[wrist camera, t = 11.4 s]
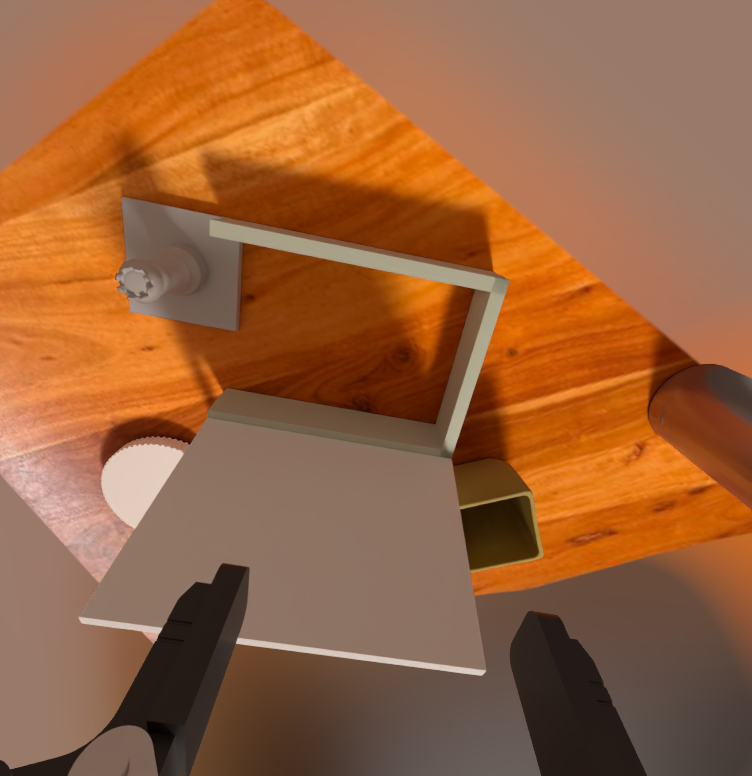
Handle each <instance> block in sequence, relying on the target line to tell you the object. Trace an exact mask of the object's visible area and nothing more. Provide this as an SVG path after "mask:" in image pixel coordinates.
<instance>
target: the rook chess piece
mask: <svg viewBox="0 0 752 776" xmlns="http://www.w3.org/2000/svg"><path fill="white" fill-rule="evenodd" d="M206 279H207V270H206V265H205V263H204V261H203V259H202V257H201V256H200V255H199V254H198V253H197V252H196V251H195V250H194V249H193V248H190V247H188V246H186V245H184V244H171V245H168V246H166V247H163V248H161V249H159V250H158V252H157V253H156V254H155V255H154V257H153V259H152V260H141V259H130V260H128V261H126V262H124V263H123V264H122V266H121V267H120V268H119V273H116V277H115V280H117V281H119V283H120V286H118V287H117V288H118V290H119V291H120V293H125V294H126V295H127V296H128V297H127V299H129V300H132V301H136V302H139V303H141V304H150V303H153V302H155V301H157V300H158V299H159V298H160V296H162V295H165V294H166V292H168V293H171V294H173V295H176V296H188V295H192V294H194V293H197V292H199V291H200V290H201V289H202V288H203V287H204V286H205V283H206Z"/></svg>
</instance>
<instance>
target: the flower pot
mask: <svg viewBox="0 0 752 776" xmlns="http://www.w3.org/2000/svg"><path fill="white" fill-rule="evenodd" d="M453 470H454V476H455V483H456V489H457V495H458V501H459V507H460V513H461V519H462V525H463V531H464V537H465V543H466V550H467V556H468V562H469V568H470V573H472V572H477V571H482V570H486V569H491V568H496V567H501V566H506V565H511V564H517V563H522V562H527V561H532V560H536V559H539V558H541V557H543V549H542V544H541V540H540V535H539V530H538V525H537V518H536V511H535V505H534V497H533V494H532V491H531V490H530V489H529V488H528V486H527V485H526V484H525V482H524V481H523V480H522V479H521V477H520V476H519V475H518V473H517V472H516V471H515V470H514V468H513V467H512V466H511V465H509V464H508V463H506V462H504V461H502V460H499V459H493V458H487V459H483V460H478V461H474V462H470V463H466V464H461V465H457V466H453Z"/></svg>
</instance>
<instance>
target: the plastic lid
mask: <svg viewBox="0 0 752 776" xmlns="http://www.w3.org/2000/svg"><path fill="white" fill-rule="evenodd" d="M188 447H189V444H188V443H187V442H185V443H184V442H183V441H181V440H180V441H178V440H177V439H171V438H170V437H169V438H166V437H162V438H160V436H157V437H154V436H152V437H151V438H149V437H146V438H141V439H140V440H139V439H136V440H135V441H134V440H133V441H131V442H130V443H127V444H126V445H124V446H123V447H122V448H120V449H119V450H118V451H117V452H116V453H115V454H113V455H112V457H110V458H109V459H108V461H107V462H106V464H105V465H104V467H105V468H104V469H103V470H102V471H103V472H102V474H101V475H102V477H101V480H102V481H101V484H102V486H101V488H103V490H102V492H104V494H103V495H104V497H106V499H105V500H106V501H108V503H107V504H108V505H110V506H111V507H110V508H111V509H113V510H114V511H113V512H114V513H116V514H117V516H118V517H120V519H121V520H124V521H125V523H127V524H129V526H130V527H131V526H132V527H133V529H135V528H136V527H137V525H138V524H139V522H140V521H141V519H142V518H143V516H144V514H145V513H146V511H147V510H148V508H149V507H150V505H151V504H152V502H153V501H154V499H155V498H156V496H157V494H158V493H159V491H160V490H161V488H162V487H163V485H164V484H165V482H166V481H167V479H168V477H169V476H170V474H171V473H172V471H173V470H174V468H175V467H176V465H177V464H178V462H179V461H180V459H181V457H182V456H183V454H184V453H185V451H186V450H187V448H188Z"/></svg>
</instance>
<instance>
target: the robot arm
mask: <svg viewBox="0 0 752 776" xmlns="http://www.w3.org/2000/svg"><path fill="white" fill-rule="evenodd" d="M649 421H650V424H651V427H652V428H653V430H654V431H655V432H656V433H657V434H658V435H659V436H661V437H662V438H663V439H664V440H665V441H667V442H668V443H669V444H670V445H672V446H673V447H674V448H675V449H677V450H678V451H679V452H680V453H681V454H683V455H684V456H685V457H686V458H688V459H689V460H690V461H691V462H693V463H694V464H695V465H696V466H698V467H699V468H700V469H701V470H703V471H704V472H705V473H706V474H707V475H709V476H710V477H711V478H712V479H714V480H715V481H716V482H717V483H719V484H720V485H721V486H722V487H724V488H725V489H726V490H727V491H729V492H730V493H731V494H732V495H734V496H735V497H736V498H737V499H739V500H740V501H741V502H742V503H744V504H745V505H746V506H747V507H749V508H750V509H751V510H752V379H751V378H749V377H747V376H744V375H742V374H740V373H738V372H735V371H733V370H731V369H729V368H726V367H724V366H721V365H716V364H702V365H697V366H693V367H690V368H687V369H685V370H683V371H681V372H679V373H677V374H675V375H674V376H672V377H671V378H670V379H669V380H667V381H666V382H665V383H664V384H663V385H662V386H661V387H660V388H659V390H658V391H657V393H656V394H655V396H654V397H653V399H652V402H651V404H650V408H649ZM249 573H250V568H249V567H246V566H240V565H233V564H226V563H222V564H221V565H220V567H219V569H218V571H217V573H216V575H215V577H214V579H213V581H212V583H211V584H208V583H202V582H195V583H194V584H193V585H192V586H191V587H190V588H189V589H188V590H187V591H186V592H185V593H184V594H183V595H182V596H181V597H179V599H178V600H177V602H176V604H175V606H174V608H173V610H172V612H171V613H170V615H169V617H168V619H167V622H166V623H165V624H164V626H163V628H162V630H161V632H160V634H159V636H158V639H157V641H155V643H154V645H153V647H152V648H151V651H150V652H149V654H148V656H147V658H146V660H145V661H144V663H143V665H142V667H141V669H140V671H139V672H138V674H137V676H136V678H135V680H134V682H133V684H132V685H131V687H130V689H129V691H128V693H127V695H126V696H125V698H124V700H123V702H122V704H121V706H120V707H119V709H118V711H117V713H116V714H115V716H114V718H113V719H112V720H111V721H110V723H109V724H108V725H107V726H106V727H105V728H104V729H103V731H102V732H101V733H99V734H98V735H97V736H96V737H95V738H94V739H93V740H91V741H90V742H89V743H87V744H86V745H84V746H82V747H81V748H79V749H77V750H76V751H74V752H71V753H69V754H67V755H63V756H60V757H57V758H53V759H49V760H46V761H42V762H38V763H35V764H30V765H27V766H22V767H19V768H15V769H11V770H10V769H9V767H8V765H7V764H6V763H5V762H3V761H1V760H0V776H189V775H190V773H191V770H192V767H193V764H194V761H195V758H196V755H197V752H198V750H199V747H200V744H201V741H202V738H203V735H204V733H205V730H206V727H207V724H208V721H209V718H210V716H211V712H212V710H213V707H214V704H215V701H216V698H217V695H218V693H219V689H220V687H221V684H222V681H223V678H224V676H225V673H226V670H227V667H228V664H229V661H230V659H231V656H232V653H233V650H234V647H235V644H236V641H237V639H238V636H239V633H240V630H241V627H242V624H243V621H244V617H245V613H246V608H247V600H248V587H249ZM510 663H511V668H512V672H513V675H514V679H515V683H516V686H517V690H518V694H519V697H520V701H521V704H522V708H523V712H524V715H525V719H526V722H527V726H528V730H529V733H530V737H531V740H532V744H533V748H534V751H535V754H536V758H537V762H538V766H539V769H540V773H541V776H647V775H646V773H645V770H644V768H643V766H642V764H641V762H640V760H639V758H638V755H637V753H636V751H635V749H634V747H633V745H632V743H631V740H630V738H629V736H628V734H627V732H626V730H625V728H624V726H623V723H622V721H621V719H620V717H619V715H618V713H617V711H616V709H615V707H613V705H612V700H611V698H610V695H609V693H608V691H607V689H606V688H605V687H604V685H603V684H604V683H603V681H602V678H601V676H600V674H599V672H598V670H597V668H596V665H595V663H594V661H593V660H592V658H591V657H590V656H589V654H588V653H587V652H586V651H585V649H584V648H583V647H582V646H581V644H580V643H579V642H578V640H575V639H570V638H569V636H568V634H567V631H566V629H565V627H564V624H563V622H562V620H561V619H560V618H559V617H558V616H557V615H553V614H547V613H541V612H534V611H529V612H528V613H527V614H526V616H525V618H524V620H523V622H522V624H521V626H520V628H519V630H518V631H517V633H516V636H515V637H514V639H513V641H512V643H511V648H510Z"/></svg>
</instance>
